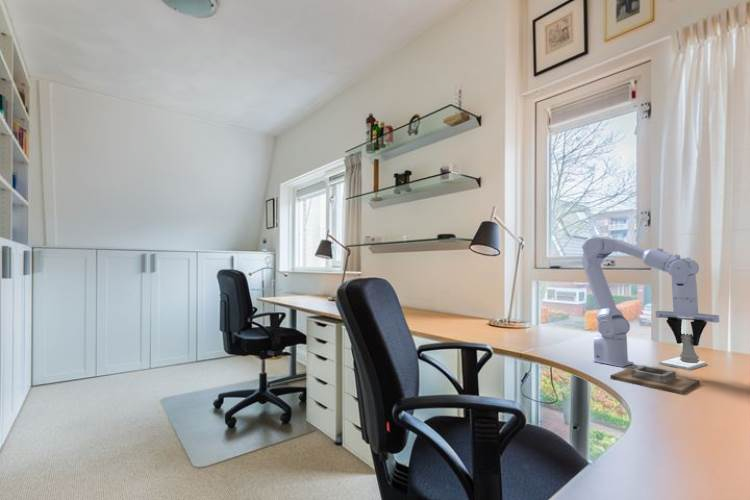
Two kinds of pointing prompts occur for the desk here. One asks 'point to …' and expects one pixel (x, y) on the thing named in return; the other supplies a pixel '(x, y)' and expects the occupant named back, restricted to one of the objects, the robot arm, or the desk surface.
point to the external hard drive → (682, 364)
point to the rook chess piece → (688, 349)
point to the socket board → (656, 379)
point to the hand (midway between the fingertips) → (687, 344)
